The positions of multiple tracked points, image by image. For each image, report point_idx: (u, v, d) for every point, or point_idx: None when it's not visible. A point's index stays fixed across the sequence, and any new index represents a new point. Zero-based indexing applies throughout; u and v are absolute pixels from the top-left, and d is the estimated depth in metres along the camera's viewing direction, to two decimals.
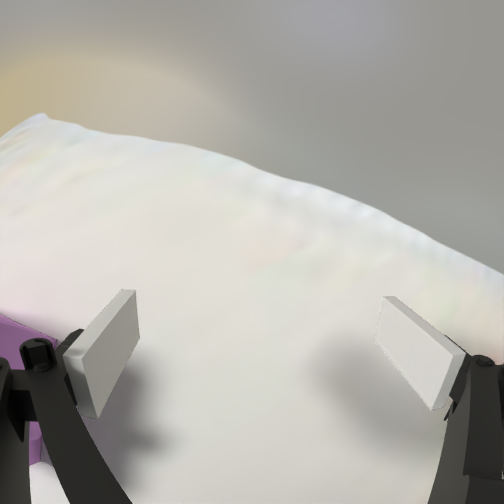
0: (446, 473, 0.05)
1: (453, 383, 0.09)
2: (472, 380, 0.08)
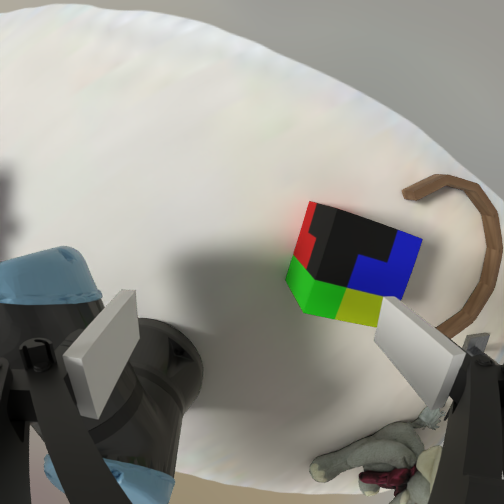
0: (446, 473, 0.05)
1: (453, 383, 0.09)
2: (472, 380, 0.08)
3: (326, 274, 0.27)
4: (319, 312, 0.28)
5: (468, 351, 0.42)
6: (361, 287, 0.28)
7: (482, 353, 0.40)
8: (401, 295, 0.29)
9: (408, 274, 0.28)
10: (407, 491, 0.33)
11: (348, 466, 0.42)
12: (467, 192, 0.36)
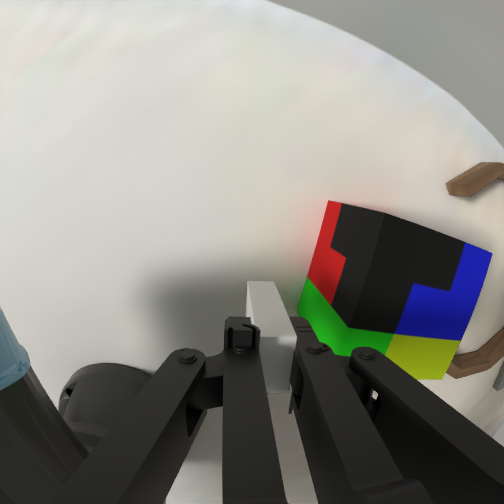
0: (326, 482, 0.06)
1: (290, 368, 0.11)
2: (311, 374, 0.09)
3: (366, 318, 0.16)
4: None
5: None
6: (413, 331, 0.17)
7: None
8: (462, 333, 0.18)
9: (473, 304, 0.17)
10: None
11: None
12: None
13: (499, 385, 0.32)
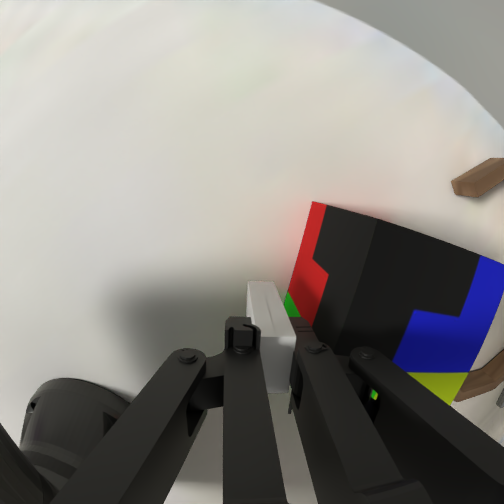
0: (326, 482, 0.06)
1: (290, 368, 0.11)
2: (310, 374, 0.09)
3: None
4: None
5: None
6: (412, 366, 0.13)
7: None
8: (471, 364, 0.14)
9: (486, 330, 0.13)
10: None
11: None
12: None
13: (503, 402, 0.28)
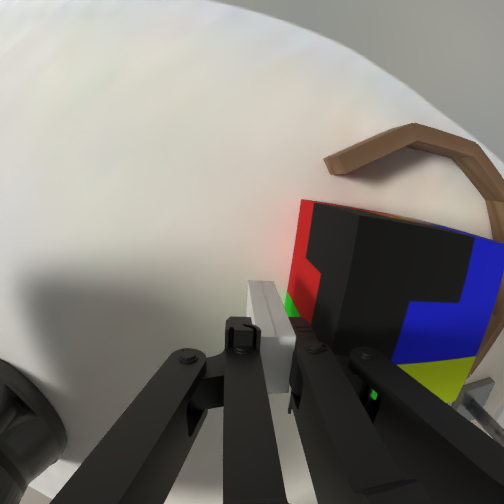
0: (326, 482, 0.06)
1: (289, 368, 0.11)
2: (310, 374, 0.09)
3: (349, 353, 0.13)
4: None
5: (461, 408, 0.26)
6: (415, 357, 0.13)
7: (481, 411, 0.24)
8: (477, 348, 0.13)
9: (489, 312, 0.13)
10: None
11: None
12: (459, 160, 0.20)
13: None
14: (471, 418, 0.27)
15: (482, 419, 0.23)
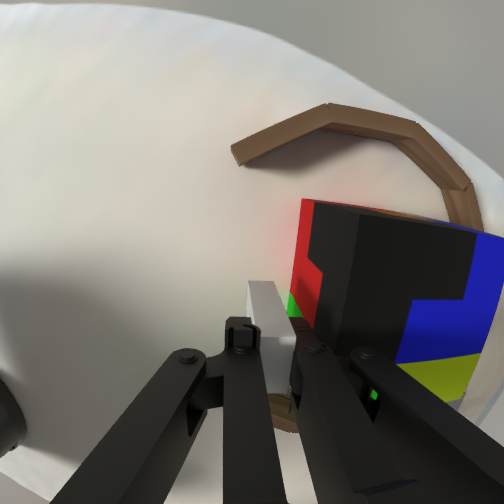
0: (326, 482, 0.06)
1: (290, 368, 0.11)
2: (310, 374, 0.09)
3: None
4: None
5: None
6: (419, 356, 0.13)
7: None
8: (482, 344, 0.13)
9: (493, 308, 0.13)
10: None
11: None
12: (400, 144, 0.19)
13: None
14: None
15: None
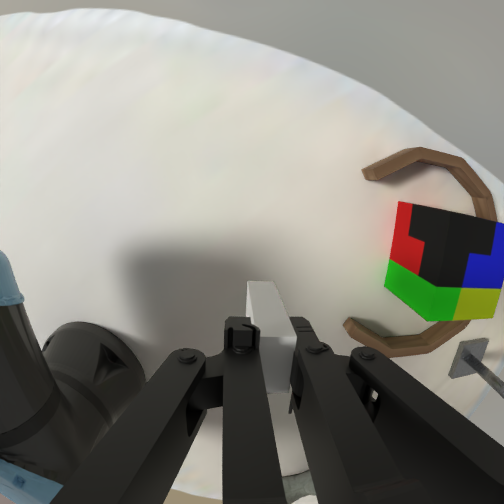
0: (326, 482, 0.06)
1: (290, 368, 0.11)
2: (311, 374, 0.09)
3: (445, 279, 0.23)
4: (440, 317, 0.24)
5: (462, 360, 0.36)
6: (472, 284, 0.23)
7: (478, 363, 0.34)
8: (501, 283, 0.24)
9: None
10: None
11: (308, 492, 0.37)
12: (451, 169, 0.30)
13: (454, 373, 0.36)
14: (471, 372, 0.37)
15: (479, 368, 0.33)
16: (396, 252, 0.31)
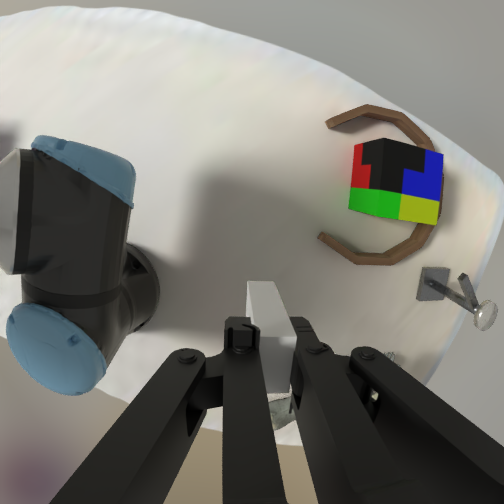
0: (327, 482, 0.06)
1: (290, 368, 0.11)
2: (311, 374, 0.09)
3: (386, 185, 0.35)
4: (387, 214, 0.36)
5: (426, 283, 0.48)
6: (411, 193, 0.35)
7: (441, 285, 0.46)
8: (439, 197, 0.36)
9: (440, 181, 0.35)
10: None
11: None
12: (396, 123, 0.42)
13: (421, 296, 0.49)
14: (437, 298, 0.49)
15: (442, 289, 0.45)
16: (354, 180, 0.43)
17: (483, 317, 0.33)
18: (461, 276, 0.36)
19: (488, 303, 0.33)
